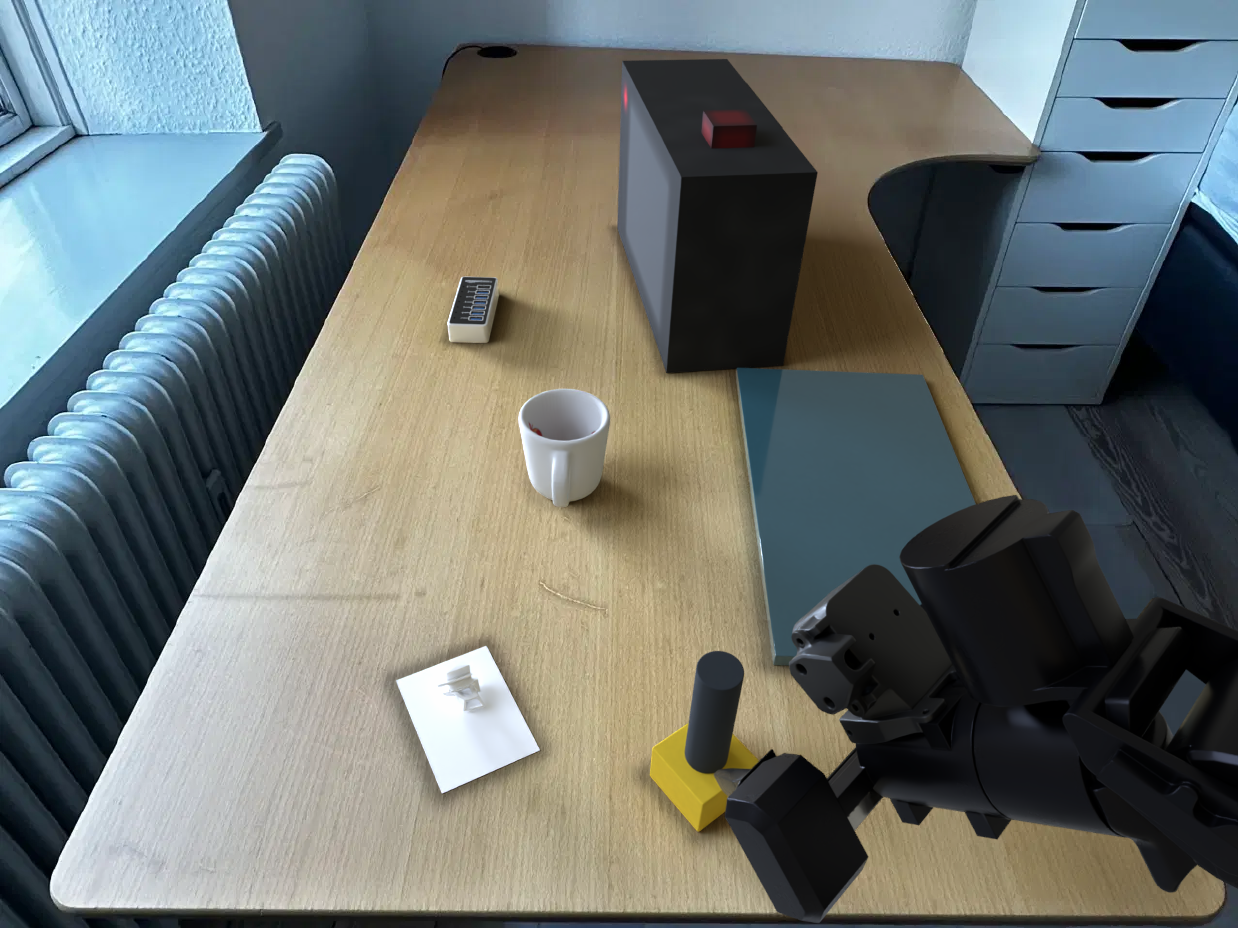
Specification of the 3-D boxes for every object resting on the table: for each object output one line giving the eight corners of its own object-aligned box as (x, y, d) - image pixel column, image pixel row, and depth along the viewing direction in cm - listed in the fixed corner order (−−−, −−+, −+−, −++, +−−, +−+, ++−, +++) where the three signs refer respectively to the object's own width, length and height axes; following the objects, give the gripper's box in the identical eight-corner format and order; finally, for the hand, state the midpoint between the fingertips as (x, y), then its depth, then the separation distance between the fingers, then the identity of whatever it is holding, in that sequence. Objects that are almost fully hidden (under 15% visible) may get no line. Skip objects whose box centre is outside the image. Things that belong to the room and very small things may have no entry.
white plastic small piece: (475, 680, 66) (472, 653, 64) (488, 707, 64) (486, 680, 62) (436, 695, 64) (431, 669, 62) (448, 723, 63) (444, 697, 61)
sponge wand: (754, 789, 60) (781, 677, 51) (697, 832, 57) (717, 721, 49) (704, 736, 63) (723, 622, 54) (649, 775, 60) (659, 662, 52)
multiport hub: (448, 342, 100) (446, 324, 98) (462, 292, 108) (461, 275, 107) (488, 343, 100) (486, 325, 98) (499, 294, 108) (498, 277, 107)
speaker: (725, 223, 125) (746, 40, 109) (802, 364, 98) (844, 148, 83) (617, 228, 122) (622, 41, 107) (666, 373, 96) (683, 153, 81)
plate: (1037, 675, 67) (1042, 665, 67) (773, 665, 67) (775, 655, 67) (920, 383, 96) (923, 374, 95) (735, 376, 96) (736, 367, 95)
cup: (606, 536, 77) (608, 467, 72) (514, 533, 77) (510, 464, 72) (609, 456, 85) (611, 388, 80) (526, 453, 85) (522, 386, 80)
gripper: (1035, 481, 42) (805, 526, 55) (795, 718, 32) (583, 704, 45) (1134, 683, 43) (885, 680, 56) (933, 975, 33) (686, 888, 46)
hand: (771, 728), depth 51 cm, fingers open, 9 cm apart
